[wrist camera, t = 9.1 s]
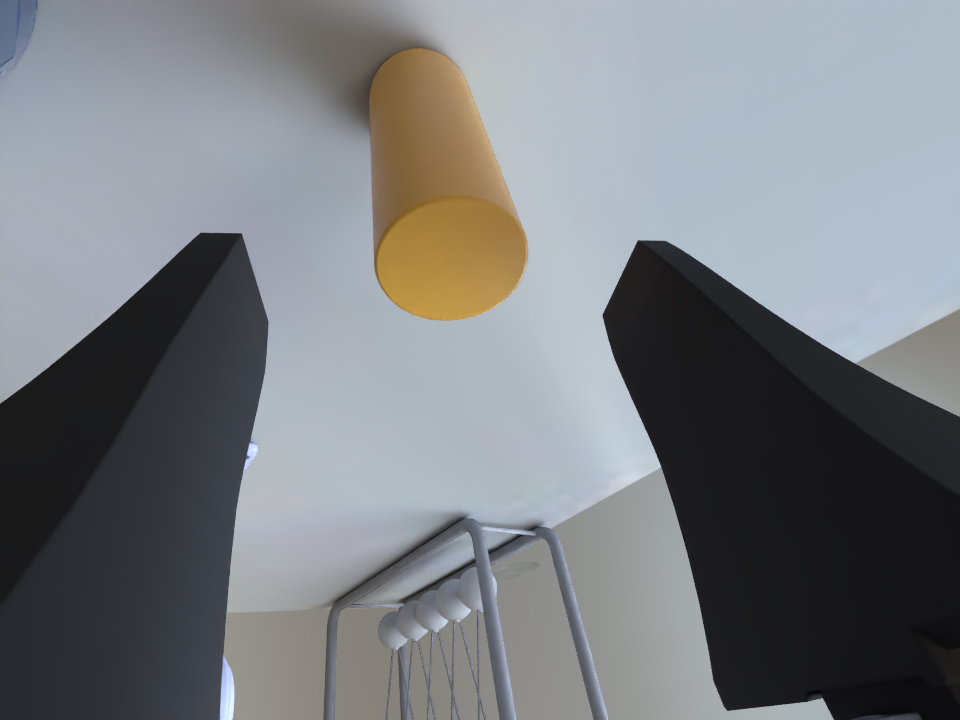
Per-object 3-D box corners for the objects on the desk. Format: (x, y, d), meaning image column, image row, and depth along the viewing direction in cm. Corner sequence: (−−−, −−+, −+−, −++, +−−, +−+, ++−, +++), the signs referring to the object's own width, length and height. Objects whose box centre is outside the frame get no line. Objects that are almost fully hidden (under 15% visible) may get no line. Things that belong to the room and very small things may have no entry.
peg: (435, 172, 15) (468, 337, 10) (350, 119, 13) (346, 289, 9) (491, 91, 13) (560, 245, 9) (403, 20, 12) (431, 164, 7)
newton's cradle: (401, 605, 61) (410, 782, 50) (326, 606, 55) (318, 807, 44) (557, 519, 45) (621, 756, 34) (473, 509, 39) (518, 790, 28)
